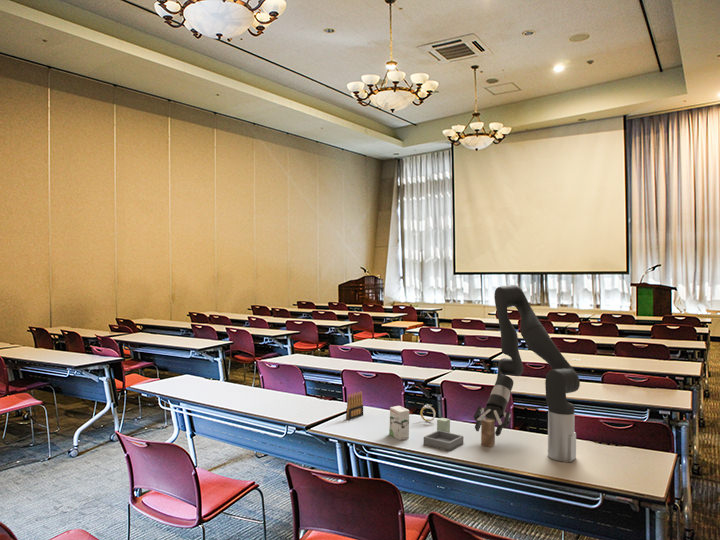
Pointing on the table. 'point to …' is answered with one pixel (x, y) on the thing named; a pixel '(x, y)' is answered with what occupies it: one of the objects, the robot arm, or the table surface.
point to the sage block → (443, 425)
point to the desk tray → (443, 440)
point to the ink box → (399, 422)
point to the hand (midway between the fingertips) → (486, 432)
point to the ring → (425, 408)
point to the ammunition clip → (354, 406)
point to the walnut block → (488, 432)
